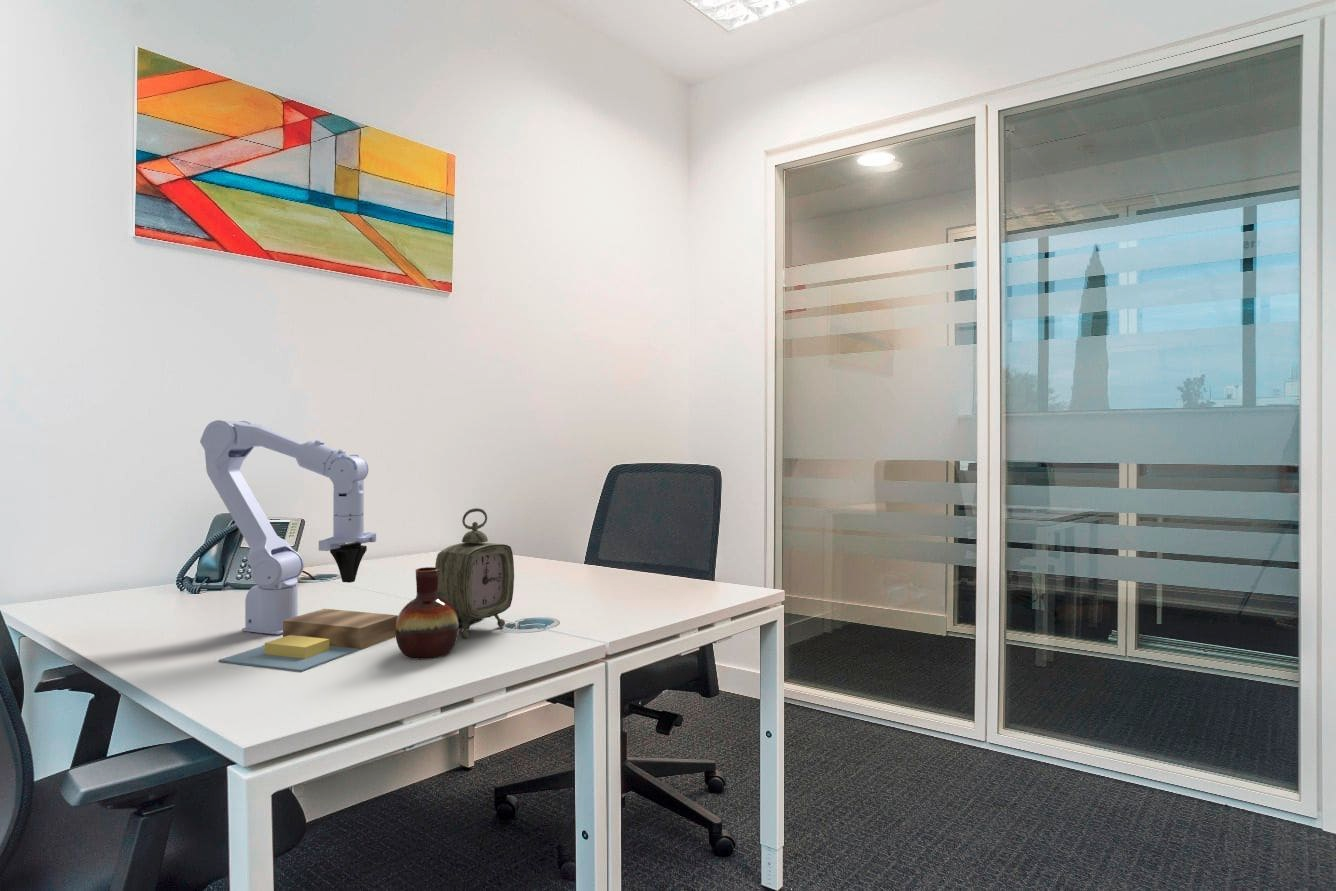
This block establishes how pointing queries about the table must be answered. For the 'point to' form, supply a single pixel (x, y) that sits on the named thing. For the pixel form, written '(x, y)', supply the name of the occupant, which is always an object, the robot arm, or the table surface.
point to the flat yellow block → (297, 646)
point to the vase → (426, 620)
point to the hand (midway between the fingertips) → (348, 581)
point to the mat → (286, 659)
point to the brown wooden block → (343, 627)
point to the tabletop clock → (476, 576)
